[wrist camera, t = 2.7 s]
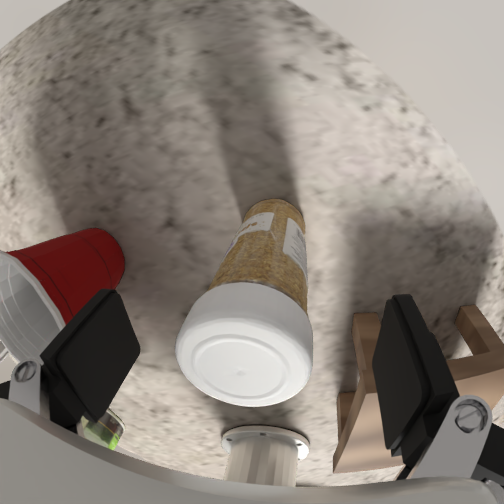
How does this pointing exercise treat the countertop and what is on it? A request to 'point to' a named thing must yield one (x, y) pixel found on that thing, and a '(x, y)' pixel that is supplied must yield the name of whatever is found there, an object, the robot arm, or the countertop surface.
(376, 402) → the walnut stool
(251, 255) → the sprinkles bottle
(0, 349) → the stool
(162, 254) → the countertop surface
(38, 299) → the plastic cup
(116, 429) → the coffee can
